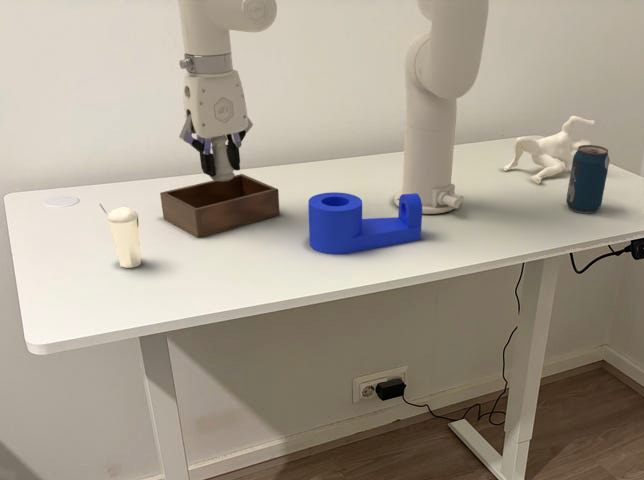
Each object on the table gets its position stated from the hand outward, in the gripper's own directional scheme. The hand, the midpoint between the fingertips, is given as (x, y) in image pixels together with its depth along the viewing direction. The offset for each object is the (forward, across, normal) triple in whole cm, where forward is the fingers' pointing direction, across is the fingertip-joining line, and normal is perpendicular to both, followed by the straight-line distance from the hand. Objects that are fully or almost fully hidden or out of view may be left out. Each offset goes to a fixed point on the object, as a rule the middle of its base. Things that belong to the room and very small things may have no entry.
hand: (221, 170), depth 131 cm
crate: (+9, -1, 0) cm, 9 cm away
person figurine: (+11, +71, -22) cm, 76 cm away
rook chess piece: (+2, 0, 0) cm, 2 cm away
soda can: (+11, +57, -41) cm, 71 cm away
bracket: (+9, +12, -25) cm, 29 cm away
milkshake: (+9, -24, -8) cm, 26 cm away
